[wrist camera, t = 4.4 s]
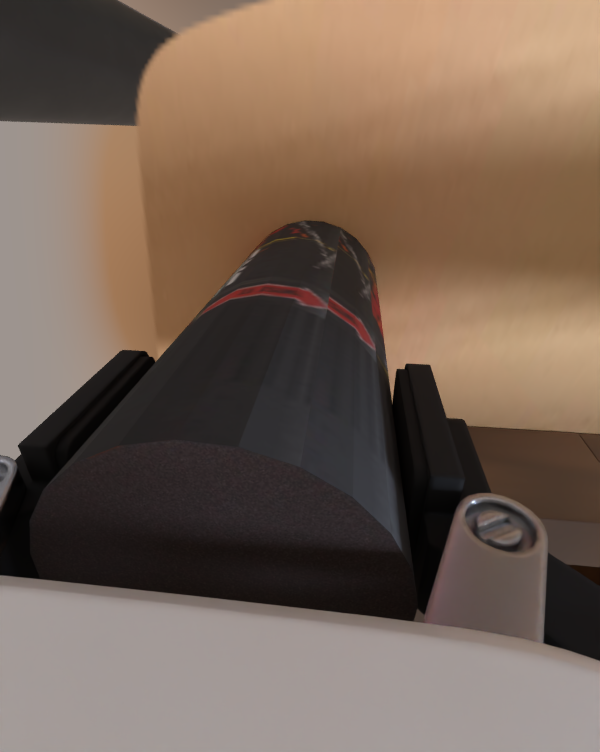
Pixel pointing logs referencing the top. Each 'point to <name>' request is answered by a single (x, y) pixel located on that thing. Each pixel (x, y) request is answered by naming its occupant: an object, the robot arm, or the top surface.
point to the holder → (549, 487)
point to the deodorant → (250, 450)
